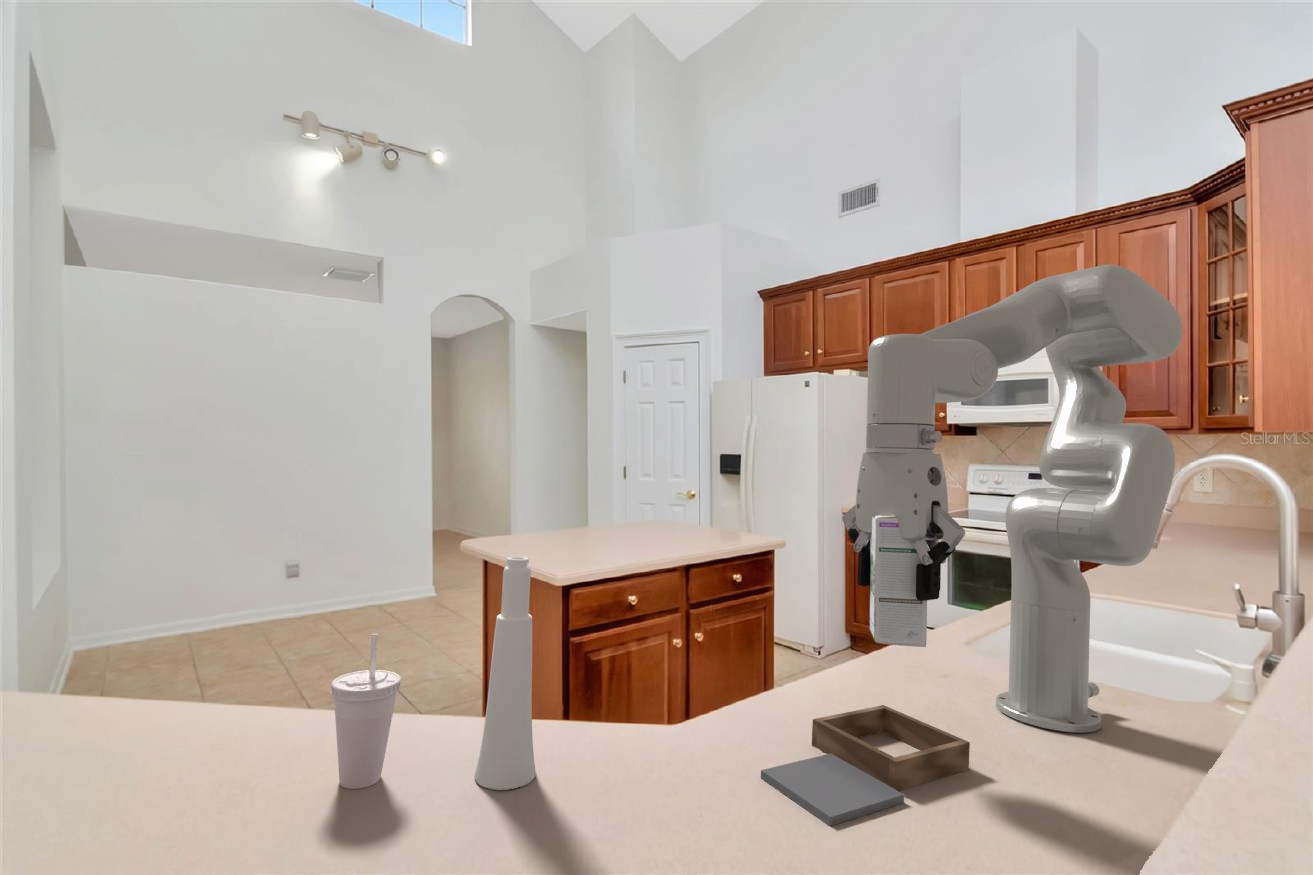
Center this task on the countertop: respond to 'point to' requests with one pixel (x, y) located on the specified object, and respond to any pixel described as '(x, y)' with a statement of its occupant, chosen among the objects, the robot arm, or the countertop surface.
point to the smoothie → (363, 721)
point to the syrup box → (895, 587)
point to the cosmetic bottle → (510, 689)
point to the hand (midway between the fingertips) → (896, 591)
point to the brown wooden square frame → (931, 763)
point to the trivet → (832, 788)
